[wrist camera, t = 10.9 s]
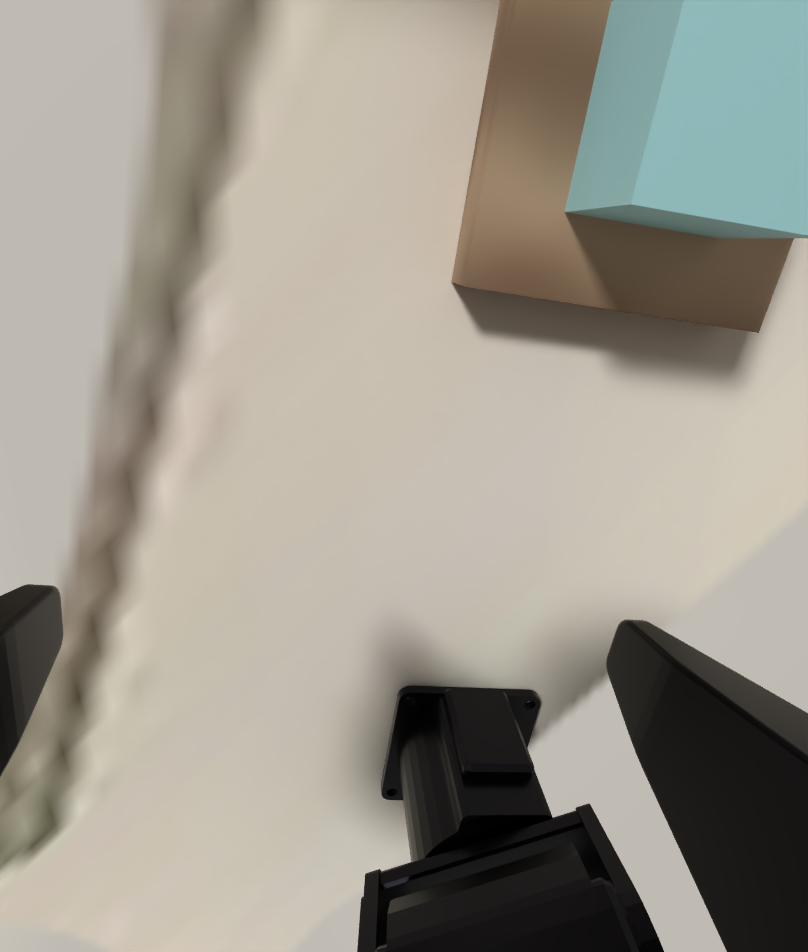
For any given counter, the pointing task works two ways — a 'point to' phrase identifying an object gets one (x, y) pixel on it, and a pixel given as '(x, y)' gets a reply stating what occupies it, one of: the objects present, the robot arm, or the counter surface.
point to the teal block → (699, 119)
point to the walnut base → (548, 183)
